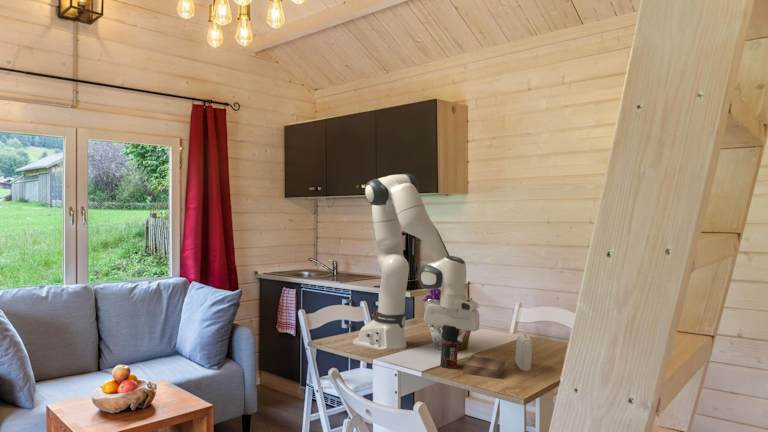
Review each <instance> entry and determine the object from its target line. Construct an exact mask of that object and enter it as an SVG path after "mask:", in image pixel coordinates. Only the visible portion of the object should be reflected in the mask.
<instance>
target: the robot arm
mask: <svg viewBox="0 0 768 432" xmlns="http://www.w3.org/2000/svg"><path fill="white" fill-rule="evenodd" d="M364 194H365V195H364V196H365V198H366V201H367V202H368V203H369V204H370V205H371V216H372V223H373V229H374V235H375V236H374V238H375V245H376V247H375V248H376V256H377V257H376V258H377V264H378V268H379V269H378V270H379V271H380V273H381V274H380V275H381V277H380V285H379V290H378V299H377V300H378V303H377V310H376V311H374V312H373V313H372V315H371V316H372V317H373V319H372V320H370V321H369V322H367V323H366V324H365V325H363V326H362V327H361V328H360V330H359V334H358V337H355V338H354V339H353V341H352V344H353V345H355V346H360V347H364V348H370V349H375V350H379V351H380V350H381V351H385V350H400V349H401V350H402V349H405V348H407V342H406V341H407V340H406V336H405V334H406V333H405V326H406V312H405V306H406V292H407V288H408V279H409V271H410V265H409V262H408V260H407V259H406V258H405V256H404V249H403V232H405V233H407V234H409V235H411V236H413V237H416V238H417V239H419V240H421V241H423V242H424V243H425V245H426V247H427V248H428V251H429V253H430V255H431V257H432V259H433V262H430V263H429V262H428V263H426V264H423V265H422V266H421V267H420V268H419V270H418V273H417V279H418V282H419V285H420V286H421V287H422V288H424V289H426V290H440V296H439V297H440V298H439V299H433V298H428V299H427V300H425V302H424V309H425V310H424V314H423V322H424V324H425V325H431V326H435V330H436V332H437V338H439V339H442V329H441V327H443V325H447V326H453V327H456V329H459V330H460V333H461V334H459V336H458V339H457V341H458V342H463V338H464V336H465V334H466V333H467V331H470V332H476V331H478V330H479V329H480V323H481V322H480V312H479V311H478V309H477V308H478V306H479V305H478V302H477V301H474V300H473V299H470V298H468V297H466V290H465V289H466V288H465V287H466V284H467V265H466V262H465V260H464V259H463V258H461V257H458V256H454V255H450V254H449V252H448V249H447V247H446V246H445V243H444V241H443V239H442V236H441V235H440V232H439V231H438V229H437V227H436V226H435V224H434V223H433V222H432V220H431V218H430V216H429V214H428V212H427V209H426V207H425V205H424V201H423V199H422V197H421V195H420V193H419V183H418V181H417V178H416V177H415V176H414V175H413V174H412V173H411V174H410V173H401V174H400V173H399V174H391V175H387V176H383V177H379V178H374V179H371V180H368V182H366V185H365V188H364ZM402 230H403V232H402Z"/></svg>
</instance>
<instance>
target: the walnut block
mask: <svg viewBox="0 0 768 432" xmlns="http://www.w3.org/2000/svg"><path fill="white" fill-rule="evenodd" d="M462 365H463V366H462V374H463V375H471V376H480V377H482V378H483V377H484V378H490V379H491V378H492V379H498V378H499V377H500V376H501V375H502V374H503V372H505V369H506V361H505V360H501V359H498V358H497V359H496V358H492V357H491V358H490V357H483V356H477V355H472V356H470V357H469V358H468V359H467V360H466V361H465V362H464V363H463V364H462Z"/></svg>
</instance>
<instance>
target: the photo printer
mask: <svg viewBox="0 0 768 432" xmlns="http://www.w3.org/2000/svg"><path fill="white" fill-rule="evenodd" d="M515 344H516V347H515V360H514V361H515V365H516V366H517V367H518V369H519V370H521V371H524V372H529V371H531V370H532V369H531V368H532V354H533V353H532V352H533V341H532V338H531V337H530V336H529V334H528V333H526V332H520V333H518V334H517V336H516V343H515Z"/></svg>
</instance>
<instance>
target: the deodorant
mask: <svg viewBox="0 0 768 432" xmlns="http://www.w3.org/2000/svg"><path fill="white" fill-rule="evenodd" d="M441 332H442V338H441V347H440V348H441V349H440V351H441V352H440V366H441V367H442V368H446V369H456V368H458V367H457V366H458V354H459V353H458V350H459V341H457V339H458V336H459V335H460V334H459V333H460V329H456V327H453V326H447V325H443V326H442V329H441Z"/></svg>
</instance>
